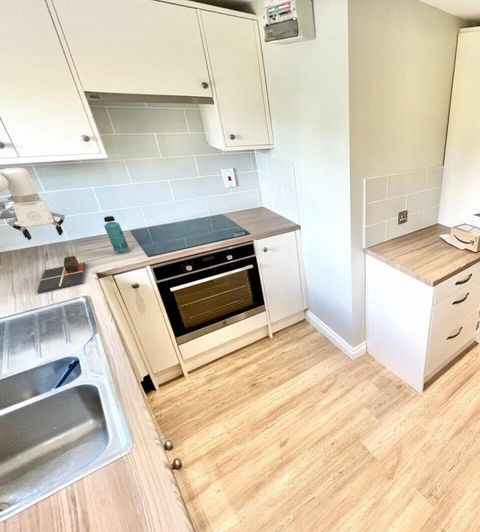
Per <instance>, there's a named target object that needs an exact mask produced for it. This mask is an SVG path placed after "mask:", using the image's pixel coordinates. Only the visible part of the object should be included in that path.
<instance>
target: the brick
mask: <svg viewBox="0 0 480 532" xmlns="http://www.w3.org/2000/svg"><path fill="white" fill-rule="evenodd" d="M63 260H64V261H63V266H64V267H65V269H66V271H67V273H72V272H77V271H78V270H79V263H80V262H79V260H78V259H77V257H76V255H71V256H66V257H64V259H63Z"/></svg>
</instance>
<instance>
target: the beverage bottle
mask: <svg viewBox="0 0 480 532" xmlns="http://www.w3.org/2000/svg"><path fill="white" fill-rule="evenodd" d="M103 220H104V222H105V224H104V226H103V228H104V229H105V232H106V234H107V236H108V238H109V242H110V244H111V247H112V249H113V251H114V252H115V253H123V252H126V251H128V250H129V243H128V242H127V240H126V237H125V235H124V231H123V230H122V228H121V223H119V222H117V221H116V218H115V217H114V216H113V215H108V216H104V217H103Z"/></svg>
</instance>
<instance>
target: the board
mask: <svg viewBox="0 0 480 532" xmlns="http://www.w3.org/2000/svg"><path fill="white" fill-rule="evenodd" d="M78 263H79V270H78V271H77V272H72V273H67V271H66V269H65V267H64V265H63V266H58V267H53V268H48V269H44V272H43V274H42V276H41V279H40V282H39V286H38V288H37V291H36V292H37V294H42V293H48V292H52V291H57V290H62V289H66V288H70V287H71V288H72V287H74V286H79V285H83V283H84V276H85V270H86V269H85V268H86V263H85V262H84V261H82V262H78Z"/></svg>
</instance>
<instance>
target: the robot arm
mask: <svg viewBox="0 0 480 532" xmlns="http://www.w3.org/2000/svg"><path fill="white" fill-rule="evenodd" d="M6 190H8V192H9V194H10V195H11V196H8V197H6V198H7V201H10V202H11V201H12V208H13V211H14V213H15V217H14V218H12V219H10V220H8V221H7V222H6V223H7V225H9V226H10V227H12V228H13V229H14V230H18V231H20V232H22V234H23V235H22V236H23V237H24V238H25V239H27V240H28V241H30V240H31V239H32V235H31V233H30V231H29V230H28V227H29V228H31V227H37V226H46V225H51V224H52V225H53V226H55V229H56V232H57V234H58V236H62V235H63V233H64V230H63V228H62V226H61V225H62V224H63V223H64V221H65V219H66V218H65V217H66V215H65V214H61V213H56V212H52V210H51V209H50V207H49V206H48V204H47V203H46V201H45V200H44V199H41V197H40V195H39V193H38V190H37V187H36V186H35V184H34V182H33V180H32V178H31V175H30V174H29V171H28V170H27V169H26V168H24V167H6V168H1V169H0V193H1V192H3V191H6ZM55 217H56V218H59V220H58V221H57V220H56V219H55ZM16 222H18V223H19V225H18V224H16Z"/></svg>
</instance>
